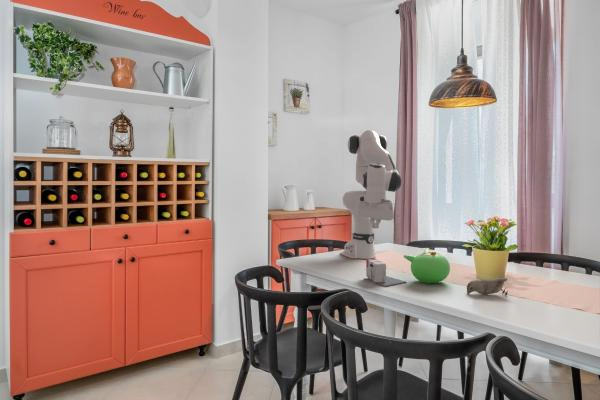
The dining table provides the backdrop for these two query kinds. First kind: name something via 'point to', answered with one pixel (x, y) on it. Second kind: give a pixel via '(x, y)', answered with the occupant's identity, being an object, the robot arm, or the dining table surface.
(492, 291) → the decorative bird
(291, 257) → the dining table surface
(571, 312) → the dining table surface
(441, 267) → the green teapot
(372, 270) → the ink box
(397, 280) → the mat
